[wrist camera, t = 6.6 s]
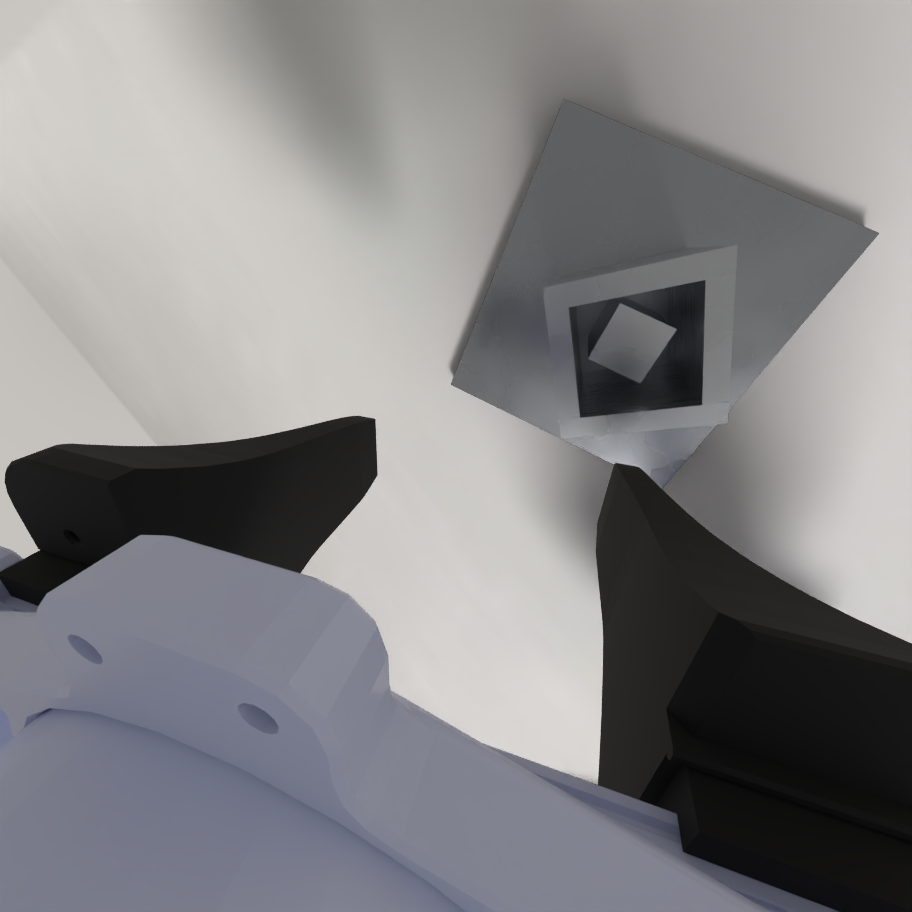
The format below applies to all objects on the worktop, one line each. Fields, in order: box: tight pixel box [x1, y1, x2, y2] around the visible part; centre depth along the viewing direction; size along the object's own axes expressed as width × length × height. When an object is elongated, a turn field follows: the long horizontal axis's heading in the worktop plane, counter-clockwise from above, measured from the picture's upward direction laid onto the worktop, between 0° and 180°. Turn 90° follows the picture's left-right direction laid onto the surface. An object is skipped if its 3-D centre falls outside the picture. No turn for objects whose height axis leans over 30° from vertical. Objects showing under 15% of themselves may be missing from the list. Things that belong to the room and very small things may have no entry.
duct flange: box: [451, 99, 879, 488], centre depth 16 cm, size 12×12×5 cm
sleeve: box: [542, 245, 738, 439], centre depth 15 cm, size 5×5×6 cm
